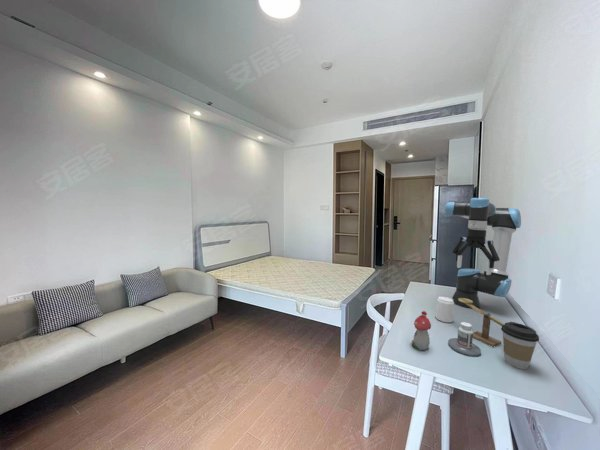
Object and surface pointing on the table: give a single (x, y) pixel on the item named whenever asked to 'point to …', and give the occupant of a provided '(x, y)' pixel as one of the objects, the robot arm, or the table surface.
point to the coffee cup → (518, 344)
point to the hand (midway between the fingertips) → (473, 270)
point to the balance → (484, 335)
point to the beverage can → (445, 309)
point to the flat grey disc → (468, 352)
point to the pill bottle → (465, 335)
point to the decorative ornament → (421, 332)
